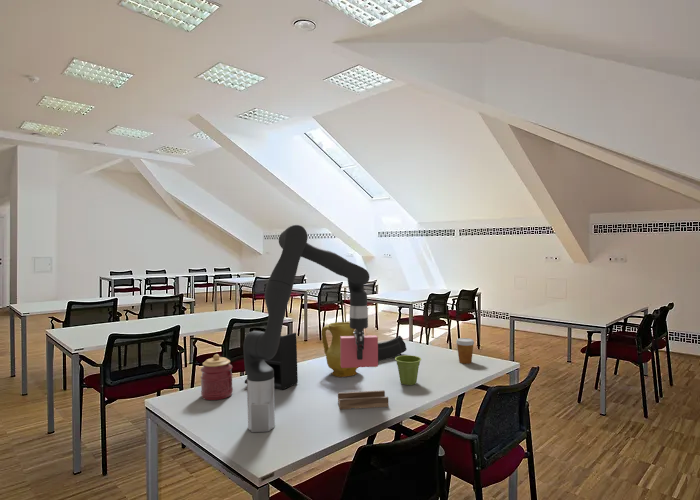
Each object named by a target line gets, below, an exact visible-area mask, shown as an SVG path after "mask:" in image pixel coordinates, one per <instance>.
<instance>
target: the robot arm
mask: <svg viewBox="0 0 700 500" xmlns="http://www.w3.org/2000/svg"><path fill="white" fill-rule="evenodd" d="M278 244H279V247H280V248H281V249H282V250H281V255H280V257H279V259H278V261H277V262H276V264H275V265H274V268H273V270H272V272H271V274H270V276H269V279H268V280H267V285H266V288H265V291H264V301H265V305H266V309H267V314H268V317H267V323H266V327H265V330H264V331H257V330H252V331H249V332H248V333H247V334H246V335H245V337H244V341H243V346H242V347H243V348H242V349H243V362H244V365H243V366H244V371H245V374H246V379H247V383H246V385H247V386H246V391H247V395H246V396H247V429H248V430H249V431H250V432H251V433H263V432H270V431H271V430H272V429H274V428H275V426H276V425H275V424H276V419H275V418H276V417H275V416H276V415H275V414H276V413H275V388H274V370H273V368H272V367H270V366H269V365H268V364H267V363H266V362H265V361H264V359H265V360H270V359H272V358H273V357H274V356H275V354H276V352H277V350H278V347H279V342H280V337H281V336H282V330H283V325H284V320H285V317H286V316H285V315H286V312H287V308H288V304H289V301H290V298H291V294H292V291H293V287H294V283H295V281H296V280H295V279H296V276H297V272H298V268H299V262H300V260H301V258H303V259H306V260H309V261H310V262H313V263H315V264H317V265H319V266H321V267H323V268H324V269H327V270H329V271H330V272H333V273H334V274H336V275H338V276H341V277H344V278H346V279H347V286H348V290H349V294H350V295H349V323H350V328H352V329H355V330H354V337H355V344H356V345H357V359H358V360H362V359H363V350H364V336H365V333H364V329H365V330H366V329H368V328H369V310H368V293H367V291H365V288H364V286H365V285H366V284H367V283H368V282H369V281H370V273H369V272H368V270H367V269H365V268H364V267H362V266H361V265H358V264H356V263H353V262H351V261H349V260H347V258H344V257H342V255H339V254H337V253H335V252H333V251H331V250H329V249H328V250H327V249H324V248H320V247H318V246H314V245H312V244H310V243H308V231H307V230H306V229H305V227H303V226H302V225H300V224H292V225H289V226H288V227H287V228H286V229H285V230H283V231H282V232H281V233H280V235H279V236H278ZM357 341H358V342H357ZM359 345H361V347H359Z"/></svg>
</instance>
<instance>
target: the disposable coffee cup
mask: <svg viewBox="0 0 700 500" xmlns="http://www.w3.org/2000/svg"><path fill="white" fill-rule="evenodd" d="M455 343H456V347H457V355H458V361H459V363H460V364H463V365H464V364H465V365H469V364H472V360H473V354H474V353H473V352H474V345H475V341H474V339H473V338H468V337H460V338H456V341H455Z"/></svg>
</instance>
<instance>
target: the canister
mask: <svg viewBox="0 0 700 500" xmlns="http://www.w3.org/2000/svg"><path fill="white" fill-rule="evenodd" d="M232 369H233V365H232V364H231V360H230V359H228V358H227V357H223V356H220V354H218V353H216V354H214V355H213V357H211V358H208V359H206V360H205V361H204V362H202V367H201V368H200V372H201V376H200V379H201V381H200V383H201V389H200V395H201V398H202V399H203V400H206V401H218V400H224V399H227V398H229V397H231V396H232V395H233V391H234V387H233V373H232Z"/></svg>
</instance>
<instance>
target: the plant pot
mask: <svg viewBox="0 0 700 500" xmlns="http://www.w3.org/2000/svg"><path fill="white" fill-rule="evenodd" d="M394 361H396V365H397V369H398V376H399V381H400V382H399V383H400V384H401V385H405V386H414V385H416V384H417V382H418V381H417V380H418V374H419V367H420V364H421V361H422V358H421V357H420V356H416V355H408V354H406V355H404V354H403V355H397V356H395V357H394Z"/></svg>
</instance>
